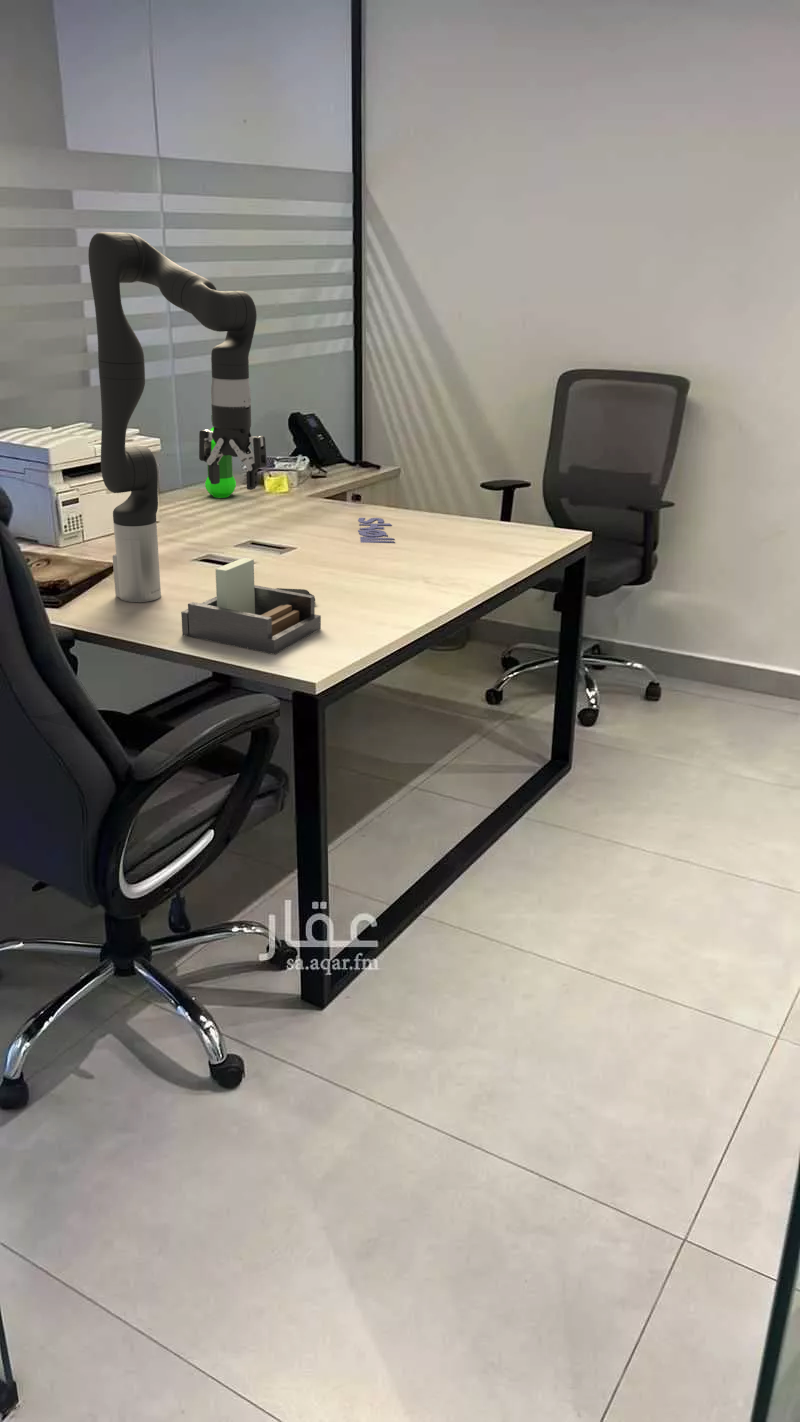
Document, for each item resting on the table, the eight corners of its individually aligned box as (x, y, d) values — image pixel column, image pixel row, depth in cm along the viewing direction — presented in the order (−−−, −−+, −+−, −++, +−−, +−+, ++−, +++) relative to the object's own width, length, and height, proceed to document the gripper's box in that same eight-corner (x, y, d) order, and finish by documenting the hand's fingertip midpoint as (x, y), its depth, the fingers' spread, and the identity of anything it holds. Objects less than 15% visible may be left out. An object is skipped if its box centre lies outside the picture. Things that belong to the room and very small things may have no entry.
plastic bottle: (216, 501, 334) (212, 418, 324) (198, 494, 341) (195, 414, 331) (243, 497, 340) (241, 416, 330) (225, 491, 347) (223, 412, 337)
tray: (182, 635, 219) (180, 602, 216) (232, 611, 234) (231, 580, 231) (274, 654, 210) (274, 620, 208) (320, 628, 225) (320, 597, 222)
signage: (357, 517, 318) (390, 517, 319) (357, 519, 318) (390, 520, 319) (358, 541, 292) (395, 541, 293) (358, 543, 292) (395, 544, 293)
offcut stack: (250, 644, 216) (249, 618, 214) (282, 627, 226) (281, 602, 224) (268, 648, 214) (268, 621, 212) (299, 631, 224) (299, 606, 222)
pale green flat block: (218, 634, 220) (215, 568, 214) (245, 621, 228) (243, 557, 223) (228, 636, 219) (225, 570, 214) (255, 623, 227) (253, 559, 222)
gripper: (188, 400, 205) (192, 485, 212) (251, 408, 200) (253, 494, 206) (211, 396, 211) (214, 479, 218) (273, 403, 206) (274, 487, 212)
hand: (233, 486), depth 212 cm, fingers open, 8 cm apart
